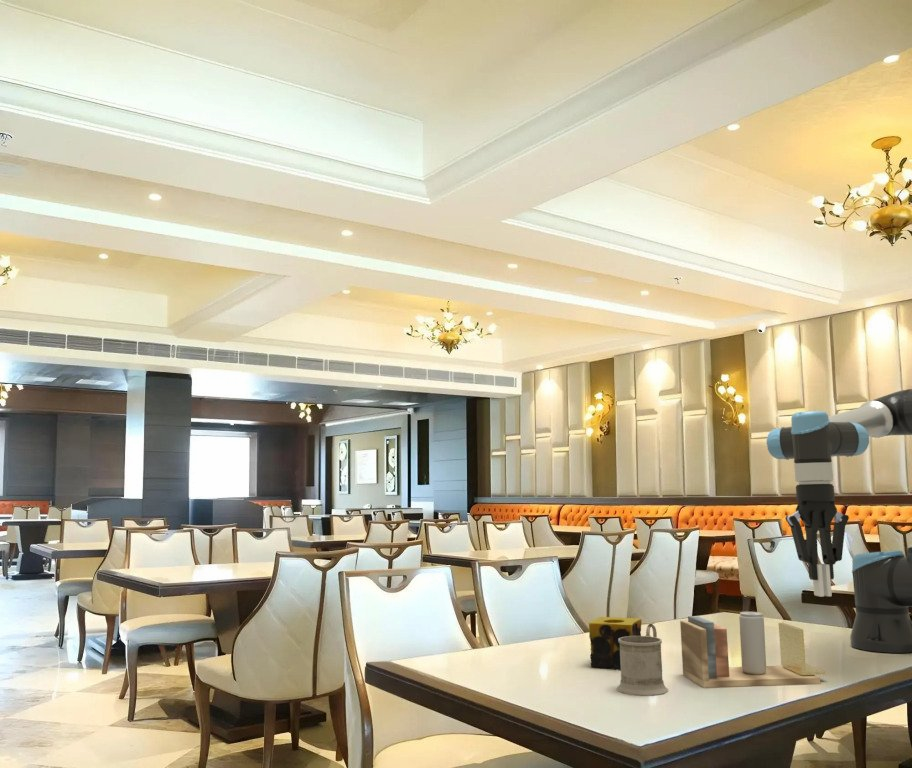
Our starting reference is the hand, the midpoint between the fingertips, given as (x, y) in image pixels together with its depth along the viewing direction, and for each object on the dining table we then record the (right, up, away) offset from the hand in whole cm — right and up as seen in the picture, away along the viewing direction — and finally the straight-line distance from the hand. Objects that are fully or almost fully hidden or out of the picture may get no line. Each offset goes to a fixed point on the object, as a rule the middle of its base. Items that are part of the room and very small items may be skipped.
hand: (822, 595), depth 173 cm
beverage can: (-16, -15, -3) cm, 22 cm away
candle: (-41, -19, +13) cm, 47 cm away
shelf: (-17, -16, -3) cm, 24 cm away
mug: (-39, -16, -9) cm, 44 cm away
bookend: (-5, -15, -2) cm, 16 cm away
